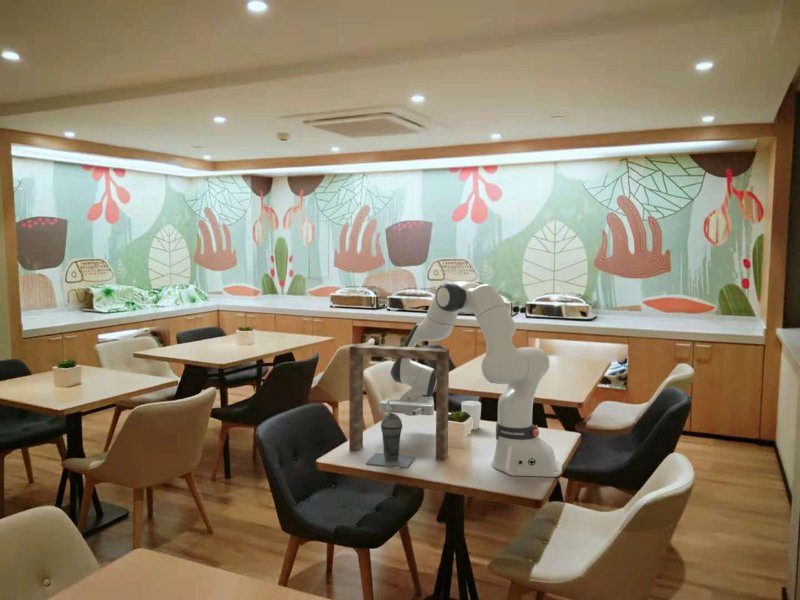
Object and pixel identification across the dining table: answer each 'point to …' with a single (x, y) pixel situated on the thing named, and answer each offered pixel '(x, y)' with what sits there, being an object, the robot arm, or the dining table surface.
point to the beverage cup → (391, 436)
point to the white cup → (472, 411)
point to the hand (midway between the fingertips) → (401, 412)
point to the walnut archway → (397, 352)
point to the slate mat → (380, 460)
